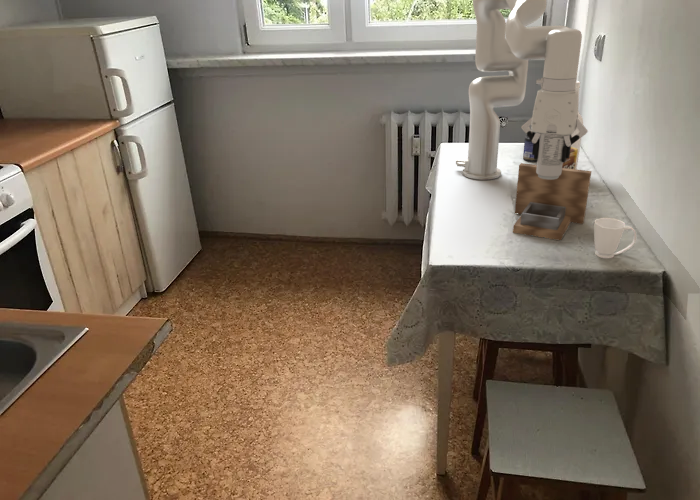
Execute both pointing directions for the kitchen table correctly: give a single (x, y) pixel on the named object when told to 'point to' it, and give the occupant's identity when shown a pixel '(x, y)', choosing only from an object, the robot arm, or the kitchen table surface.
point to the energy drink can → (550, 154)
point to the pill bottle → (528, 150)
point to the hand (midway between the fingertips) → (550, 158)
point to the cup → (609, 237)
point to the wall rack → (550, 201)
